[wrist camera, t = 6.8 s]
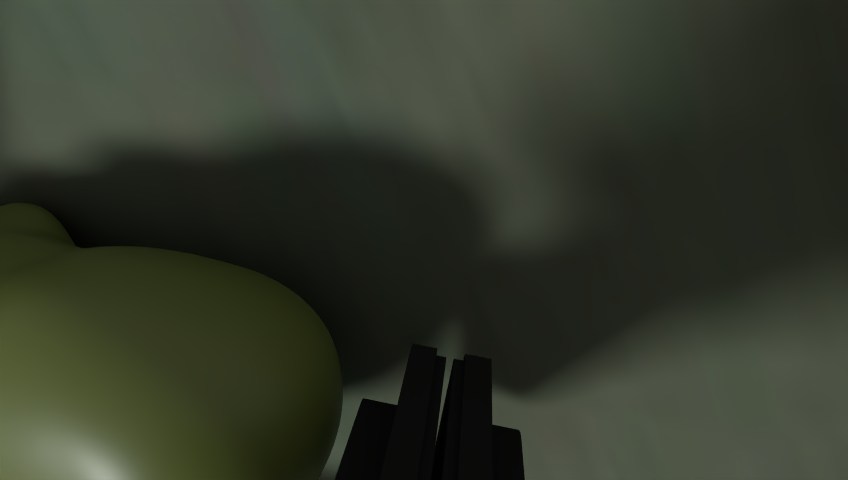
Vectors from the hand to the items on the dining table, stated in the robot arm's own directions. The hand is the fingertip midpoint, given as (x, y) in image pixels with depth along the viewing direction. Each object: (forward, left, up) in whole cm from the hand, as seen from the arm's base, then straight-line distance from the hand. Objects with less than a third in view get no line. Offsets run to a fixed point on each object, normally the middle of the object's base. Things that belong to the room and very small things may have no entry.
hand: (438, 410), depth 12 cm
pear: (+7, 0, -2) cm, 7 cm away
